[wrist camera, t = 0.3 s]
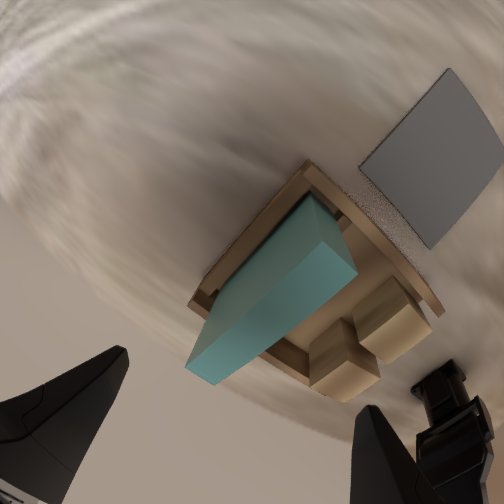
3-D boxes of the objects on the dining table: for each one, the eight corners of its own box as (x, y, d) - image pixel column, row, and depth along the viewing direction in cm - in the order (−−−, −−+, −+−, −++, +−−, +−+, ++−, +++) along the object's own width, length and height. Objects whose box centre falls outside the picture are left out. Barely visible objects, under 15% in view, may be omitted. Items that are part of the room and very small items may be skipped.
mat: (505, 154, 14) (508, 155, 13) (428, 248, 19) (429, 250, 18) (447, 68, 12) (450, 67, 12) (358, 167, 17) (359, 168, 17)
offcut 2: (416, 301, 20) (432, 330, 16) (378, 333, 22) (387, 365, 18) (392, 274, 19) (408, 303, 16) (351, 309, 21) (359, 342, 17)
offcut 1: (370, 337, 22) (380, 378, 17) (339, 361, 24) (344, 403, 19) (340, 317, 21) (347, 360, 17) (309, 344, 23) (309, 387, 19)
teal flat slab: (331, 209, 18) (358, 273, 10) (242, 299, 22) (214, 385, 14) (309, 190, 18) (322, 240, 10) (222, 284, 22) (184, 367, 14)
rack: (427, 284, 20) (445, 311, 16) (324, 365, 25) (325, 396, 22) (308, 158, 18) (311, 164, 14) (202, 279, 23) (186, 306, 19)
